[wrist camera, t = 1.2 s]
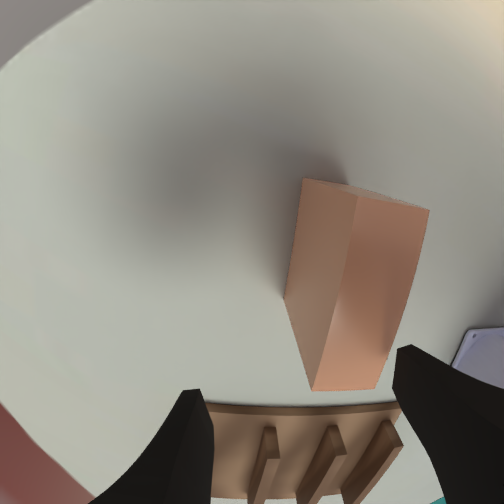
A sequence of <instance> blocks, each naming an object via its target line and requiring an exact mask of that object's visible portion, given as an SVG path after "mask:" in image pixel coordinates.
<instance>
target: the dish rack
mask: <svg viewBox="0 0 504 504" xmlns="http://www.w3.org/2000/svg"><path fill="white" fill-rule="evenodd" d="M205 404H206V407H207V409H208V412H209V415H210V417H211V420H212V422H213V425H214V445H215V451H214V463H213V475H212V487H211V497H214V498H230V499H247V502H248V504H264V502H265V499H290V498H296V500H297V504H317V503H318V501H319V500H320V498H321V497H322V496H327V495H335V494H342V498H343V501H344V504H360V503H361V502H362V500H363V499H364V498H365V497H366V496H367V494H368V493H369V492H370V491H371V490H372V488H373V487H374V486H375V485H376V483H377V482H378V481H379V480H380V478H381V477H382V476H383V474H384V473H385V472H386V470H387V469H388V468H389V466H390V465H391V464H392V462H393V461H394V459H395V458H396V457H397V455H398V454H399V452H400V451H401V449H402V448H403V446H404V445H403V443H402V441H401V439H400V437H399V435H398V433H397V431H396V429H395V427H394V424H395V422H396V420H397V419H398V417H399V415H400V413H401V411H402V410H401V408H400V405H399V403H398V402H390V403H381V404H370V405H357V406H340V407H308V408H285V407H253V406H236V405H223V404H212V403H205Z"/></svg>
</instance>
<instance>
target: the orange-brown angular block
mask: <svg viewBox="0 0 504 504" xmlns="http://www.w3.org/2000/svg"><path fill="white" fill-rule="evenodd" d="M429 211H430V210H428V209H425V208H422V207H419V206H416V205H413V204H410V203H407V202H404V201H401V200H397V199H394V198H391V197H388V196H385V195H381V194H378V193H375V192H371V191H368V190H364V189H361V188H357V187H354V186H350V185H345V184H340V183H334V182H328V181H322V180H315V179H309V178H303V181H302V188H301V195H300V202H299V209H298V215H297V222H296V228H295V235H294V241H293V247H292V254H291V260H290V266H289V272H288V278H287V284H286V289H285V295H284V303H285V306H286V309H287V312H288V316H289V319H290V322H291V325H292V329H293V332H294V335H295V338H296V342H297V345H298V348H299V351H300V355H301V358H302V361H303V365H304V368H305V371H306V375H307V378H308V381H309V385H310V388H311V391H347V390H366V389H375V386H376V384H377V382H378V379H379V377H380V375H381V372H382V370H383V367H384V365H385V362H386V360H387V357H388V355H389V352H390V349H391V347H392V344H393V341H394V338H395V336H396V333H397V330H398V327H399V324H400V321H401V318H402V315H403V312H404V309H405V306H406V303H407V299H408V296H409V293H410V289H411V286H412V282H413V279H414V275H415V272H416V268H417V264H418V260H419V256H420V252H421V248H422V244H423V239H424V235H425V230H426V226H427V221H428V216H429Z"/></svg>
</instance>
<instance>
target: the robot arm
mask: <svg viewBox="0 0 504 504" xmlns="http://www.w3.org/2000/svg"><path fill="white" fill-rule="evenodd" d="M392 389H393V391H394V394H395V396H396V399H397V401H398V403H399V405H400V408H401V410H402V411H403V413H404V415H405V416H406V418H407V420H408V421H409V423H410V425H411V426H412V428H413V430H414V431H415V433H416V435H417V436H418V438H419V440H420V441H421V443H422V445H423V446H424V448H425V450H426V452H427V454H428V455H429V457H430V460H431V462H432V465H433V467H434V469H435V472H436V474H437V477H438V480H439V483H440V485H441V488H442V491H443V494H444V498H445V501H446V504H504V327H501V328H488V329H472V330H469V331H468V332H467V333H466V335H465V337H464V340H463V342H462V344H461V347H460V349H459V351H458V353H457V355H456V358H455V360H454V362H453V364H452V366H449V365H448V364H446V363H444V362H442V361H440V360H439V359H437V358H435V357H433V356H432V355H430V354H428V353H426V352H425V351H423V350H421V349H419V348H417V347H415V346H414V345H412V344H410V345H407V346H404V347H401V348H398V349H397V355H396V363H395V371H394V378H393V385H392ZM214 451H215V445H214V425H213V422H212V420H211V417H210V415H209V412H208V409H207V407H206V404H205V402H204V399H203V396H202V394H201V391H200V389H192V390H183V391H182V392H181V394H180V396H179V397H178V399H177V401H176V403H175V405H174V406H173V408H172V410H171V411H170V413H169V415H168V416H167V418H166V420H165V421H164V423H163V424H162V426H161V427H160V429H159V430H158V432H157V433H156V435H155V436H154V438H153V439H152V441H151V442H150V443H149V445H148V446H147V447H146V449H145V450H144V451H143V453H142V454H141V455H140V456H139V458H138V459H137V460H136V461H135V462H134V463H133V465H132V466H131V467H130V468H129V469H128V470H127V471H126V472H125V473H124V474H123V475H122V476H121V477H120V478H119V479H118V480H117V481H116V482H115V483H114V484H113V485H111V486H110V487H109V488H108V489H107V490H106V491H104V492H103V493H102V494H100V495H99V496H98V497H96V498H95V499H94V500H92V501H91V502H90V503H88V504H210V501H211V487H212V475H213V463H214Z"/></svg>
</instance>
